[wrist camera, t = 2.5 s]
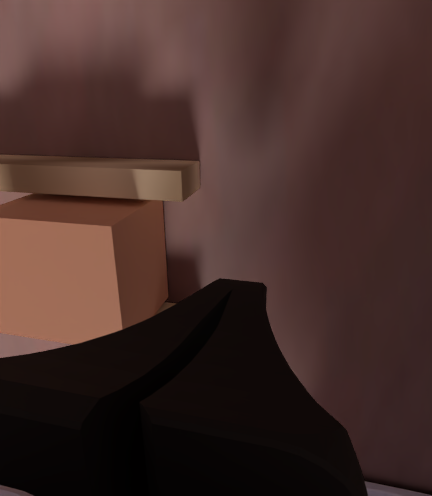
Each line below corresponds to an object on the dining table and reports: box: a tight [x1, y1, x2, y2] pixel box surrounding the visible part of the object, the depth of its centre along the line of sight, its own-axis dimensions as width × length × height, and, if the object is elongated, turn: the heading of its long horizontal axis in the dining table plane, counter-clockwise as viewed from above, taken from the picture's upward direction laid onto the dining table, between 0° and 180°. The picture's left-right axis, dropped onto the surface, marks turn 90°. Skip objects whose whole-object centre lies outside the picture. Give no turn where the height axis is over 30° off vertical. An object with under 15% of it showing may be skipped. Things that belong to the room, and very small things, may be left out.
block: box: [0, 193, 168, 344], centre depth 15 cm, size 5×4×4 cm
